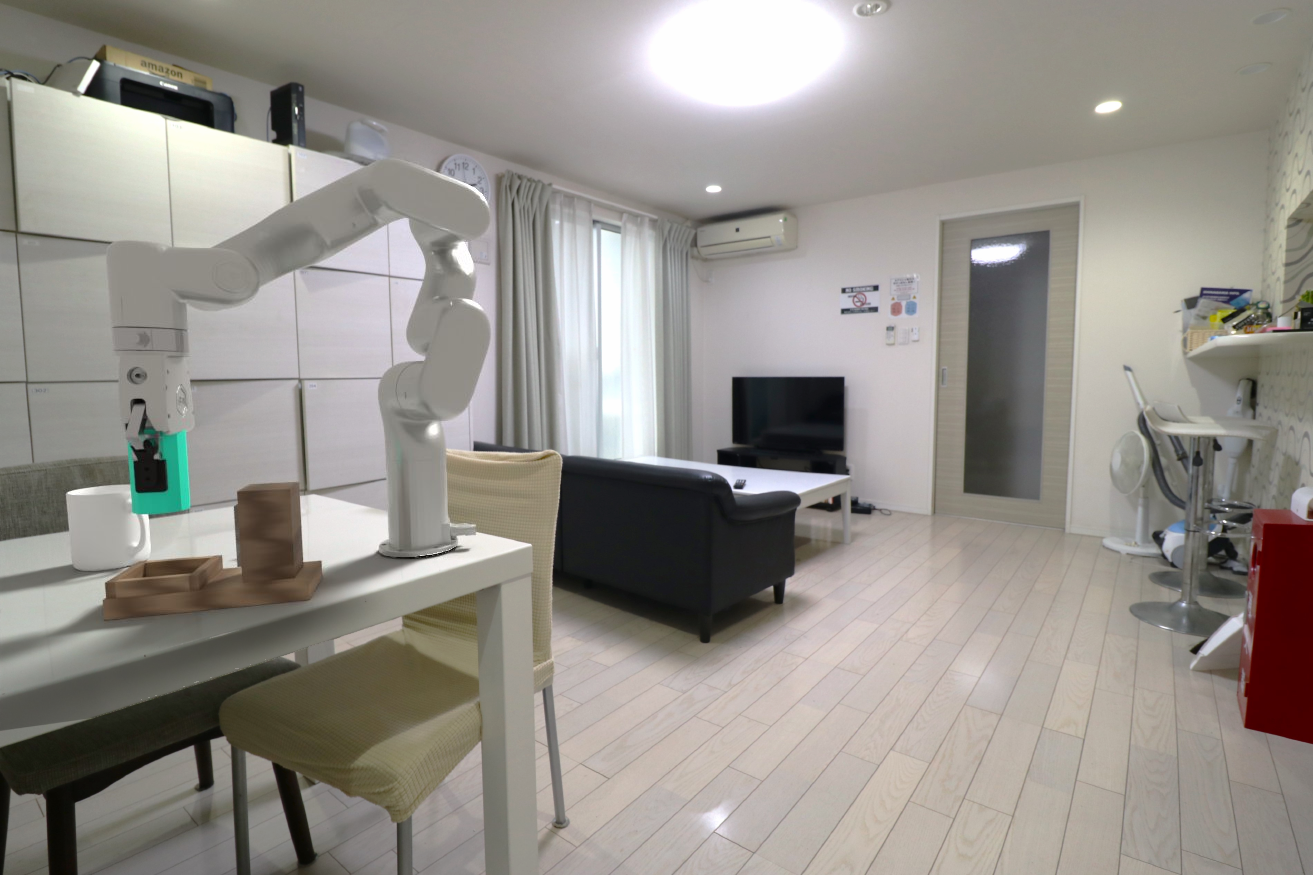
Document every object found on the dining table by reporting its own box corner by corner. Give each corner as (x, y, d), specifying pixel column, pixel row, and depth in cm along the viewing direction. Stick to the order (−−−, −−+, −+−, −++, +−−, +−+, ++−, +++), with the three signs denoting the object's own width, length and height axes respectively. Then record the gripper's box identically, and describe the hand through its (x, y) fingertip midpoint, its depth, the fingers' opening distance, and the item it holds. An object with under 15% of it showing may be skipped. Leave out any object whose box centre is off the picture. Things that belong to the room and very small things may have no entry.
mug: (110, 554, 105) (105, 484, 104) (181, 555, 105) (176, 484, 103) (54, 571, 96) (47, 494, 94) (132, 573, 95) (126, 495, 94)
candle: (159, 515, 78) (152, 417, 77) (119, 513, 79) (112, 416, 78) (202, 506, 84) (197, 415, 83) (165, 504, 85) (159, 414, 84)
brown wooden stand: (322, 577, 93) (317, 478, 92) (309, 599, 84) (304, 490, 82) (140, 593, 86) (132, 487, 85) (104, 620, 77) (94, 501, 75)
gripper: (160, 341, 73) (170, 498, 75) (209, 348, 89) (217, 477, 91) (78, 340, 71) (91, 502, 72) (144, 347, 87) (153, 479, 88)
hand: (161, 486), depth 82 cm, fingers closed on candle, 4 cm apart
